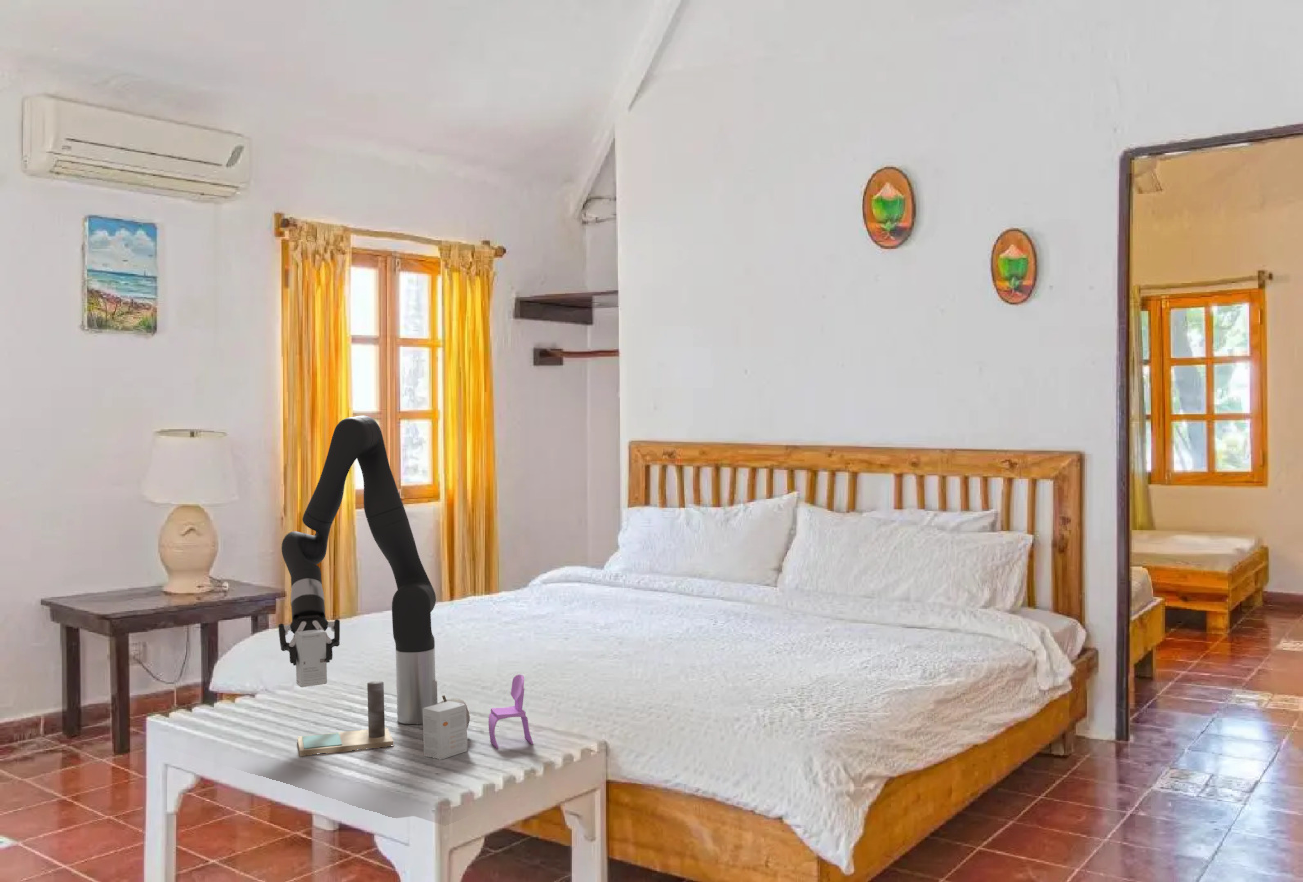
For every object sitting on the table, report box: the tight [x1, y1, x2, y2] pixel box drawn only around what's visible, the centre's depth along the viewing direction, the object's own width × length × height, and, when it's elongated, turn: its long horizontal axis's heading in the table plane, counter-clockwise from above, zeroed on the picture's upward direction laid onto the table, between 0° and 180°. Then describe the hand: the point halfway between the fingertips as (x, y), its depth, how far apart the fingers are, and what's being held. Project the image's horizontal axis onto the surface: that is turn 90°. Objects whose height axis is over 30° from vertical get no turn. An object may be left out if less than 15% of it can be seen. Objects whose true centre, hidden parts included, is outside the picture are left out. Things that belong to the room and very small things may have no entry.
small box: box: [422, 701, 468, 761], centre depth 263 cm, size 8×6×10 cm
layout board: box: [297, 680, 394, 757], centre depth 272 cm, size 20×12×13 cm, turn 109°
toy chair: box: [488, 674, 534, 749], centre depth 271 cm, size 8×9×15 cm
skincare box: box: [295, 629, 328, 688], centre depth 276 cm, size 6×4×12 cm
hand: (311, 662), depth 275 cm, fingers closed on skincare box, 6 cm apart
